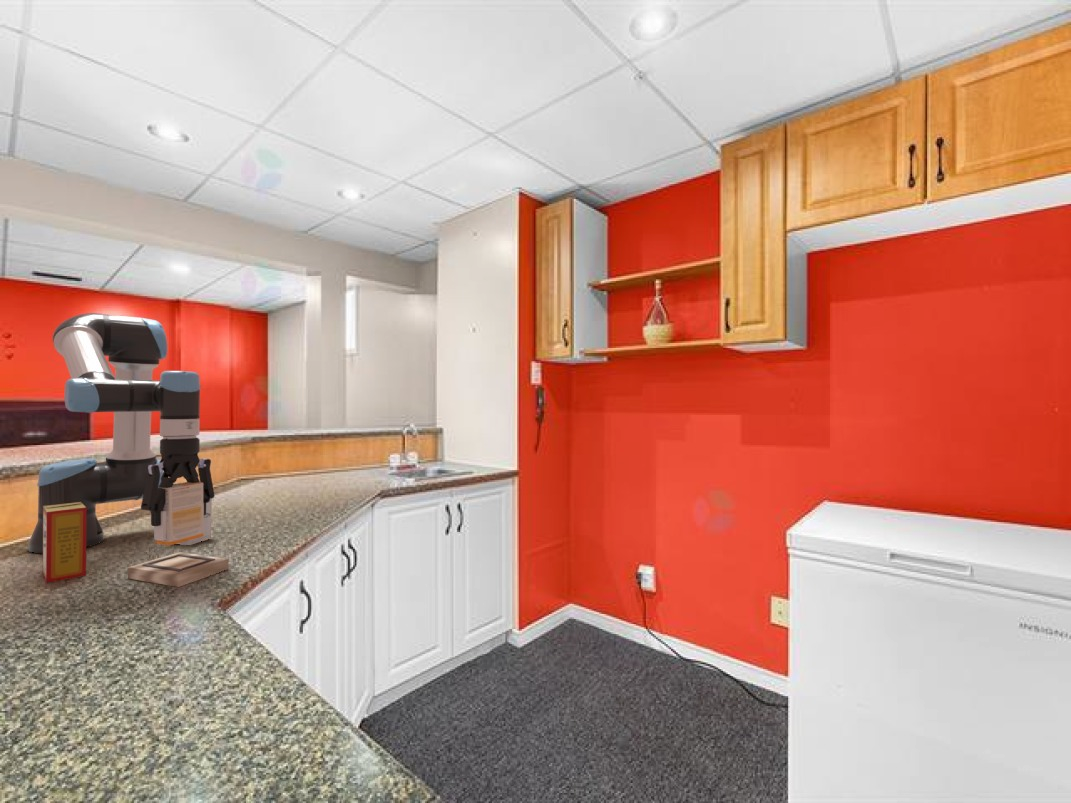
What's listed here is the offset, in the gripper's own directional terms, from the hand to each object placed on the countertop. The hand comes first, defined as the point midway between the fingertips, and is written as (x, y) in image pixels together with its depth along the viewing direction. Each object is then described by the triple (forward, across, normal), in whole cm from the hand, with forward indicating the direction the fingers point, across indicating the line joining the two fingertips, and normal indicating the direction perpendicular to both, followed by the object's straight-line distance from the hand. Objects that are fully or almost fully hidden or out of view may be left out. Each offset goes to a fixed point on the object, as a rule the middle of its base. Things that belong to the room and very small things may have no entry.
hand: (179, 534), depth 116 cm
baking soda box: (+9, -9, +25) cm, 28 cm away
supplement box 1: (+1, 0, 0) cm, 1 cm away
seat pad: (+9, 0, 0) cm, 9 cm away
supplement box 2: (+9, +20, +23) cm, 32 cm away
